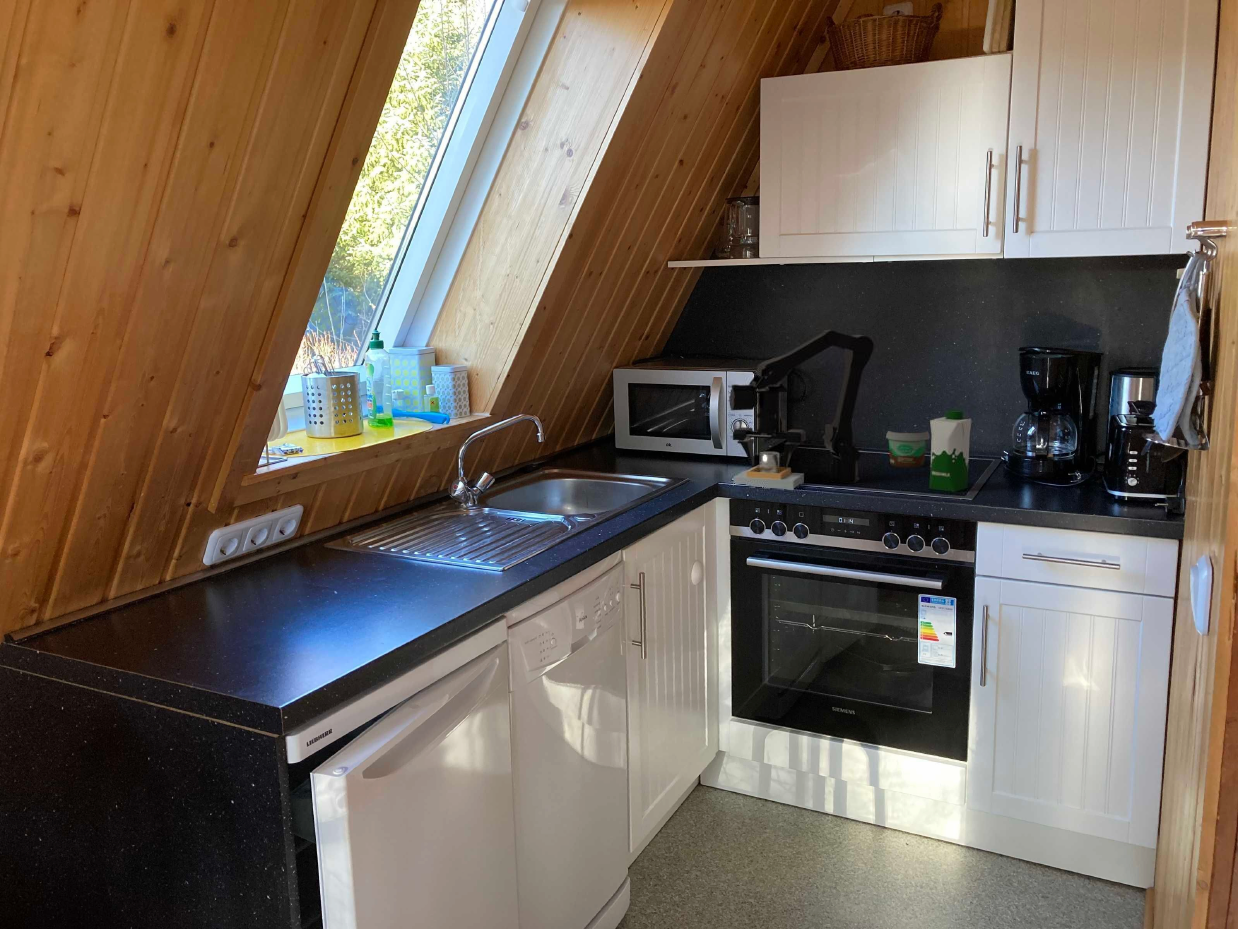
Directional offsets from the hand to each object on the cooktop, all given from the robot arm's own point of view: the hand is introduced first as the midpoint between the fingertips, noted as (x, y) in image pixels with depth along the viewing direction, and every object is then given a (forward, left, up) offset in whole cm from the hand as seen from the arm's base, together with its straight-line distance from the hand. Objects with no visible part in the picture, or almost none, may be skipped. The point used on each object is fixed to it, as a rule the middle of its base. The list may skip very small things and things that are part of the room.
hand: (768, 466), depth 269 cm
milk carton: (-45, -10, -5) cm, 46 cm away
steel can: (0, 0, -2) cm, 2 cm away
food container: (-30, -39, -5) cm, 49 cm away
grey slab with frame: (0, 0, -5) cm, 5 cm away
